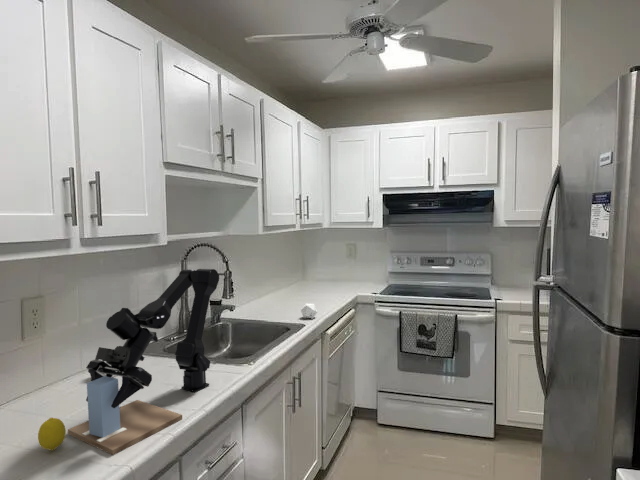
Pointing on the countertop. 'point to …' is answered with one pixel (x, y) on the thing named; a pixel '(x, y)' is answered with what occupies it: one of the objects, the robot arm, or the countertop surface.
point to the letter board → (129, 427)
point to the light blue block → (103, 406)
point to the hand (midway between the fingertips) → (100, 404)
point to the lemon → (51, 434)
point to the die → (309, 311)
